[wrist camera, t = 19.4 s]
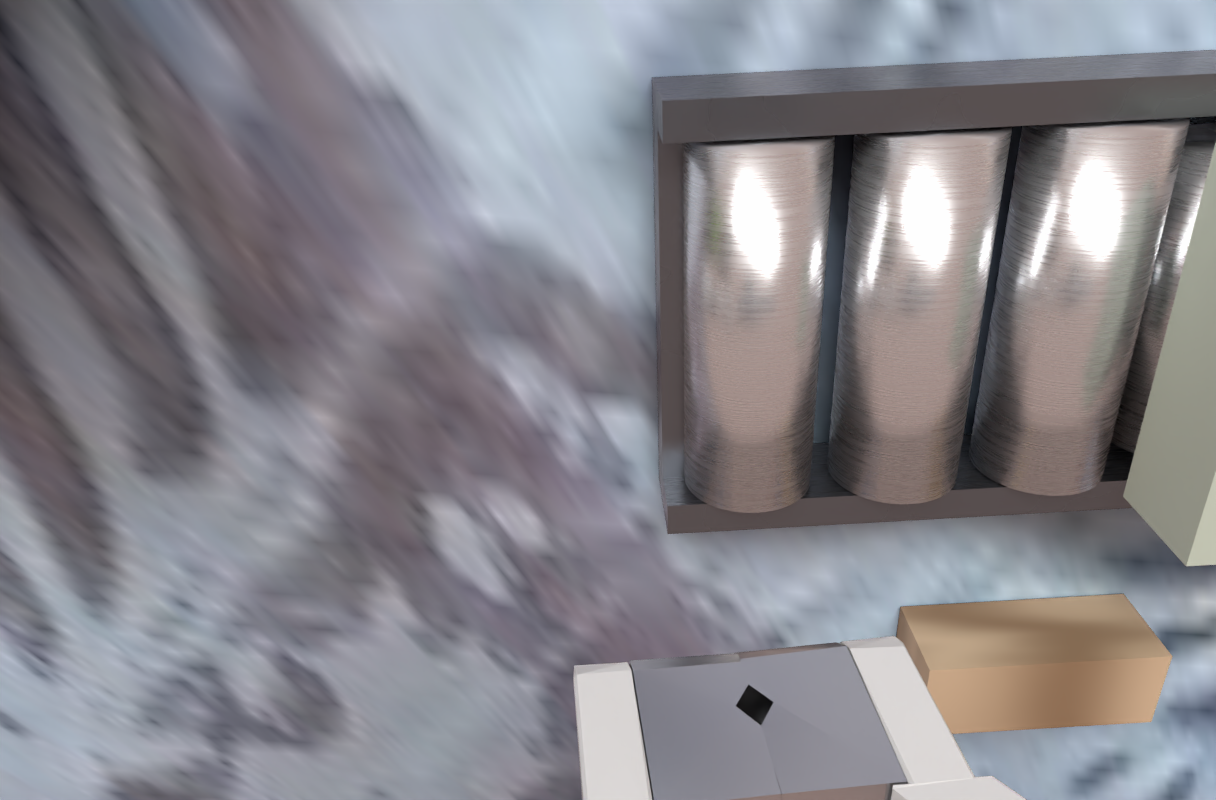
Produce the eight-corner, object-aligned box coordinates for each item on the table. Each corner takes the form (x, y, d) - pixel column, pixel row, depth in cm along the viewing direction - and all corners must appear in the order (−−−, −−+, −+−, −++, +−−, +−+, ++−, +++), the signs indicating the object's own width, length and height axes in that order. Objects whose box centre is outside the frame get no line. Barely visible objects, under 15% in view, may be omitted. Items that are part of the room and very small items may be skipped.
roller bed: (659, 485, 25) (684, 646, 20) (651, 67, 20) (683, 135, 15) (1440, 441, 25) (1670, 590, 20) (1624, 19, 20) (1996, 69, 15)
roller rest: (891, 669, 28) (919, 735, 26) (900, 606, 27) (929, 670, 25) (1106, 656, 28) (1151, 721, 26) (1123, 593, 27) (1172, 655, 25)
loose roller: (1340, 131, 20) (1180, 116, 22) (1312, 165, 18) (1140, 144, 20) (1248, 423, 23) (1116, 389, 25) (1217, 478, 21) (1076, 436, 23)
